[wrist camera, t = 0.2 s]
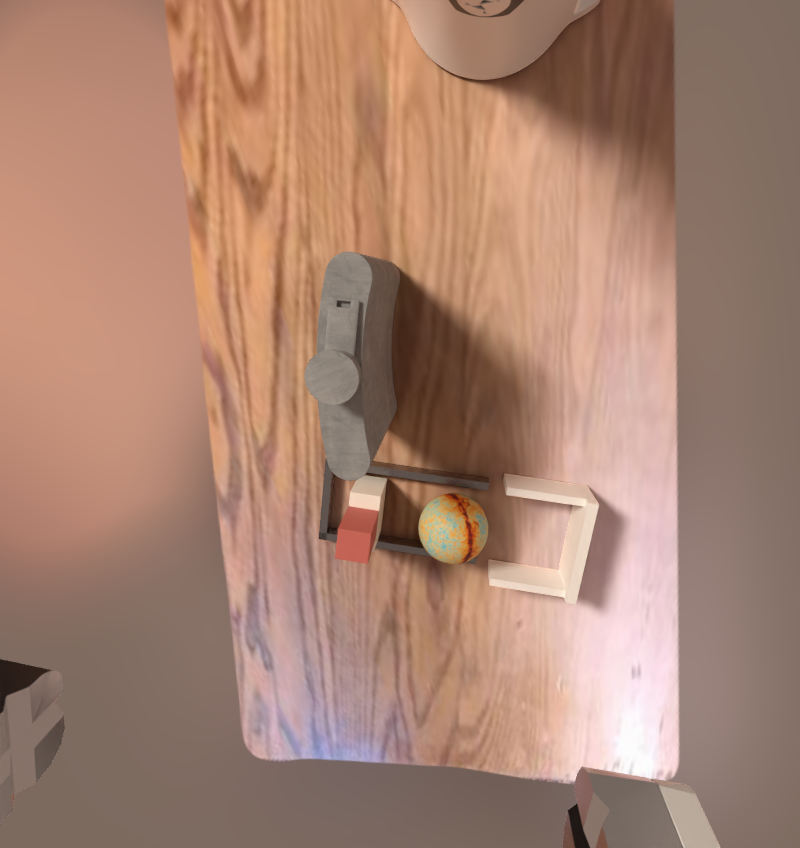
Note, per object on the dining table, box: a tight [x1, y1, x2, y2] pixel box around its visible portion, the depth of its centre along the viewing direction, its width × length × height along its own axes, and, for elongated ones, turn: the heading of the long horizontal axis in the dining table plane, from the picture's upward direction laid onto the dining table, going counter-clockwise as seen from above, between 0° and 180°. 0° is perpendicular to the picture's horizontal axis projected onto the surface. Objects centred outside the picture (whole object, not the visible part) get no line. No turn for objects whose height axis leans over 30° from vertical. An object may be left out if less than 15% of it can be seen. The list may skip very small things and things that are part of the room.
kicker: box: [335, 475, 387, 564], centre depth 54 cm, size 6×3×10 cm, turn 173°
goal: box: [488, 473, 599, 605], centre depth 55 cm, size 11×8×5 cm
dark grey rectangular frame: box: [319, 458, 489, 564], centre depth 58 cm, size 9×17×2 cm, turn 83°
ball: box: [419, 493, 488, 564], centre depth 55 cm, size 7×7×7 cm
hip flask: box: [305, 252, 400, 481], centre depth 45 cm, size 16×4×20 cm, turn 178°
